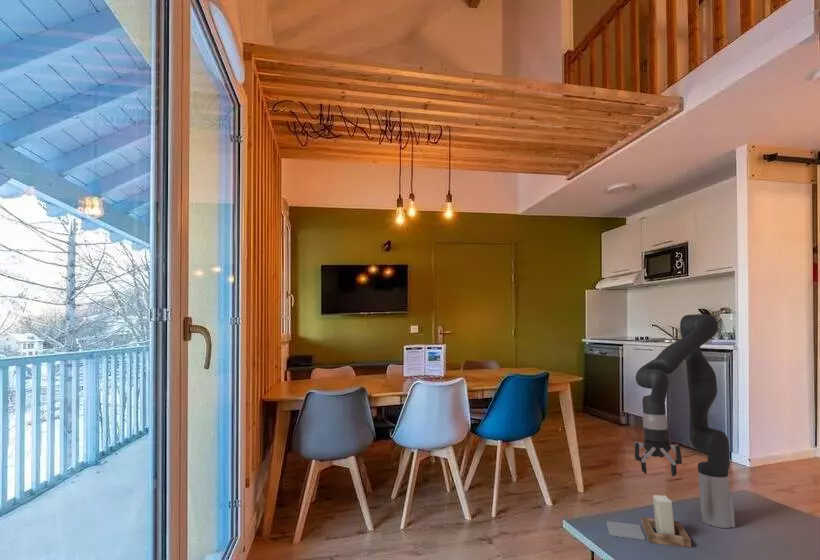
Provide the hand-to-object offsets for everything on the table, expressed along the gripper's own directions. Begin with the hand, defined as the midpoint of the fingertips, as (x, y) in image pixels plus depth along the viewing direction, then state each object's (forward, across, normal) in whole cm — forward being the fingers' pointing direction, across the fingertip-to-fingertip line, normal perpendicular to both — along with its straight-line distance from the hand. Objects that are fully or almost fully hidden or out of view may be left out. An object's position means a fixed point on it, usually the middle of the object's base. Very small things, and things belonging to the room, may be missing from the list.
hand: (658, 474), depth 153 cm
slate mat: (+20, +12, +1) cm, 23 cm away
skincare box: (+20, 0, 0) cm, 20 cm away
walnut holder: (+20, 0, 0) cm, 20 cm away
